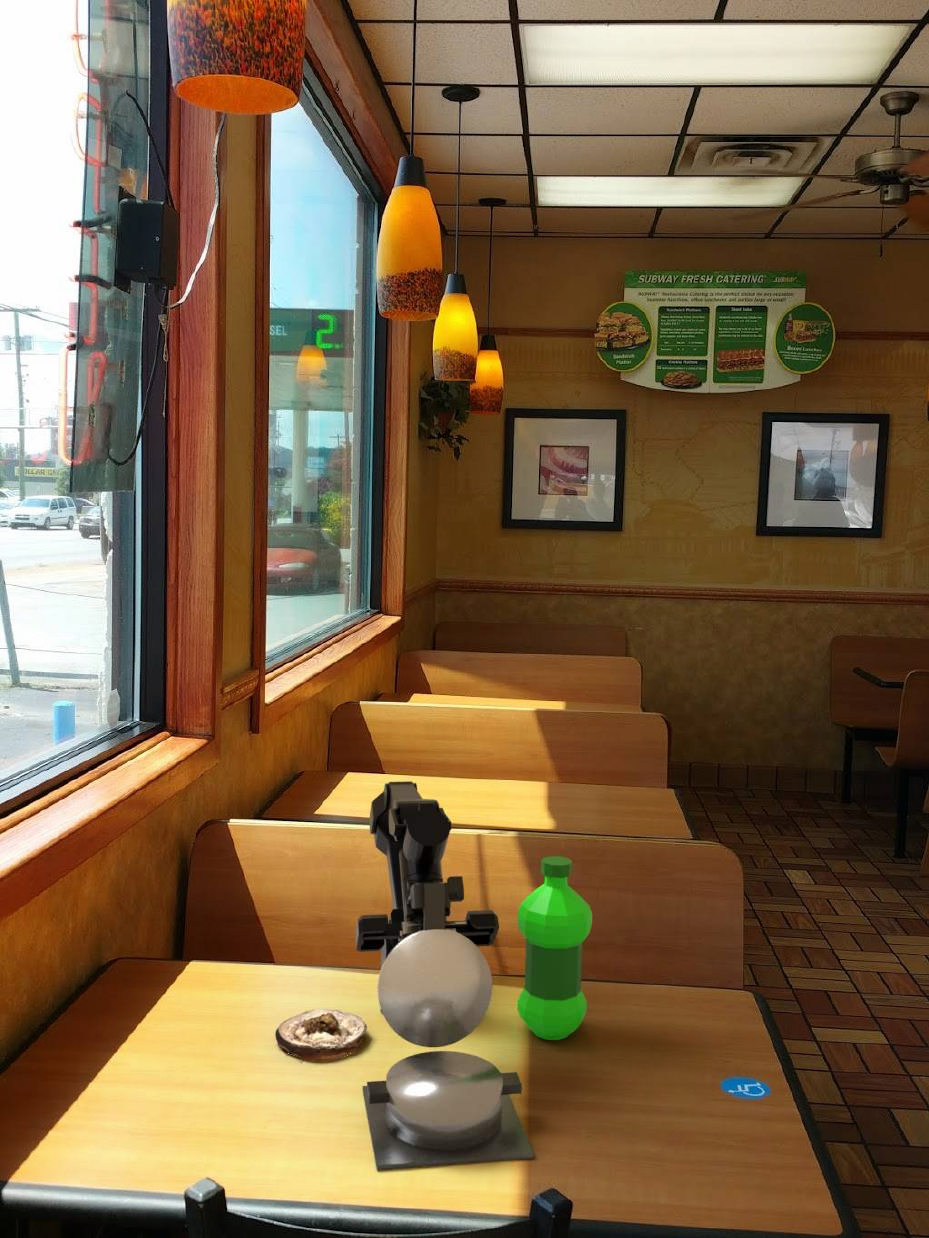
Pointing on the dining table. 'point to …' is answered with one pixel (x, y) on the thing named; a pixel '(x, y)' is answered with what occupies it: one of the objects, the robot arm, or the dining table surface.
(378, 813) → the robot arm
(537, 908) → the plastic bottle
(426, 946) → the cooker lid
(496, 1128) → the cooker pot
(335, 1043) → the bowl of rice
